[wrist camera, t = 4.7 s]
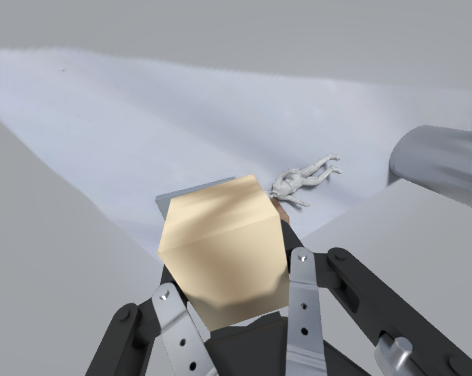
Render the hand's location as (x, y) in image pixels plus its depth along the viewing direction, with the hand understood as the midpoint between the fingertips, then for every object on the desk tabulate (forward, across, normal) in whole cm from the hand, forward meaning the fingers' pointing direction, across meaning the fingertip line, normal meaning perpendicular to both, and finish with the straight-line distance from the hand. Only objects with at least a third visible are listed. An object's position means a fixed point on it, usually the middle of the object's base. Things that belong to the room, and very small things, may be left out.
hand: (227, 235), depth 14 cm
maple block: (+1, 0, 0) cm, 1 cm away
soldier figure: (+14, -18, +3) cm, 23 cm away
